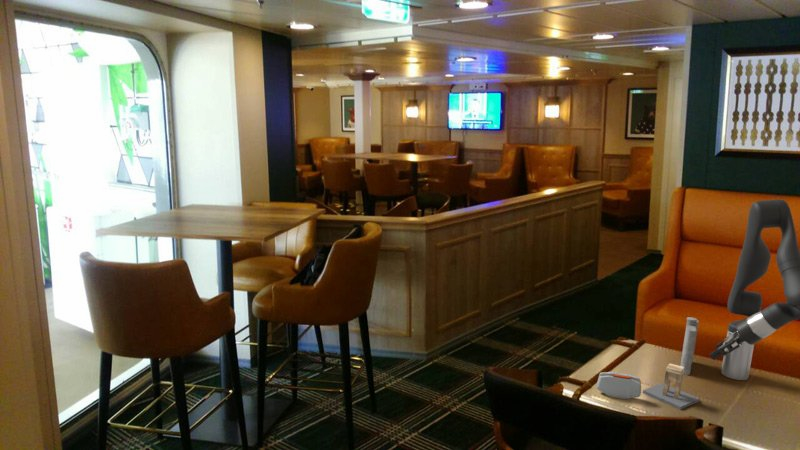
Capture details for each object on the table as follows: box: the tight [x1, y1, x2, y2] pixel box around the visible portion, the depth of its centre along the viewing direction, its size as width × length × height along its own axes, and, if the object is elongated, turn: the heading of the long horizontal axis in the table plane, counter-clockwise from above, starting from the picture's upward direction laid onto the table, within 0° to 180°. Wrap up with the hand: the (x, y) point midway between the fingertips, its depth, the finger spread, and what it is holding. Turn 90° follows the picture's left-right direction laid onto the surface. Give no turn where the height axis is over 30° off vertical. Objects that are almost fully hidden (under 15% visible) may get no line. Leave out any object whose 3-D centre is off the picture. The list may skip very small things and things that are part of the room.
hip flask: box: [679, 316, 699, 376], centre depth 241 cm, size 16×4×20 cm, turn 152°
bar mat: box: [642, 382, 701, 410], centre depth 216 cm, size 12×14×1 cm
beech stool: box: [663, 363, 684, 399], centre depth 215 cm, size 5×5×10 cm
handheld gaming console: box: [596, 371, 642, 400], centre depth 214 cm, size 14×3×8 cm, turn 74°
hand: (714, 352), depth 208 cm, fingers open, 8 cm apart
